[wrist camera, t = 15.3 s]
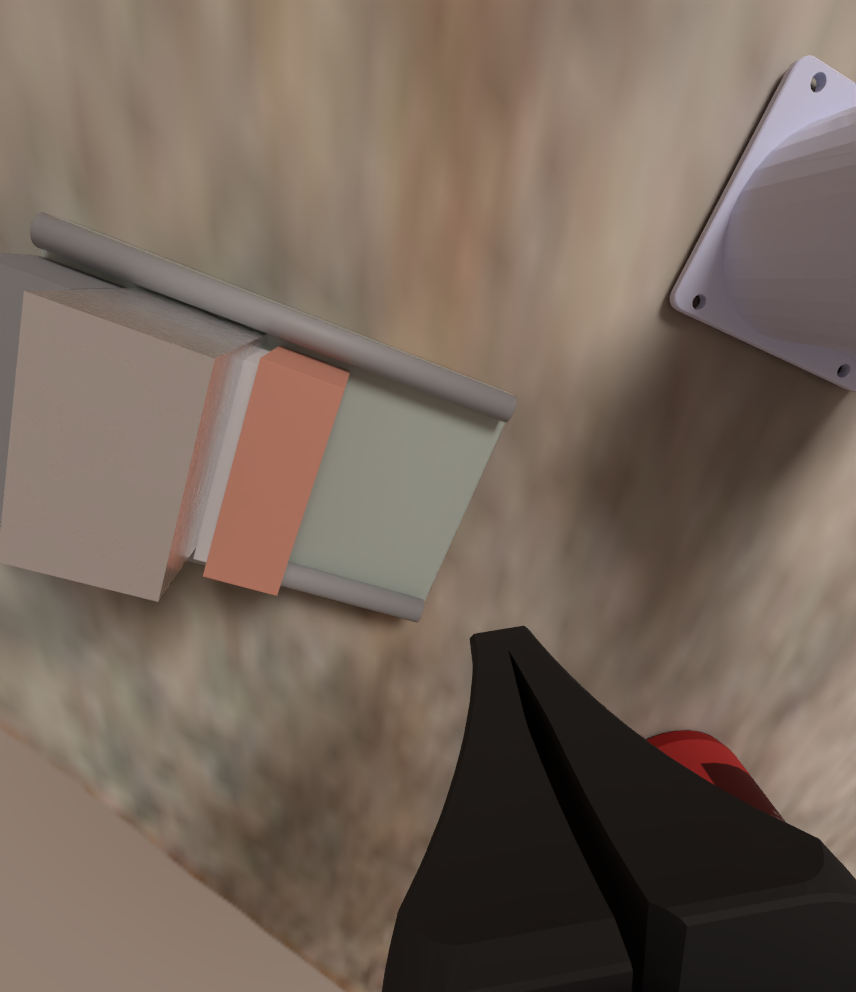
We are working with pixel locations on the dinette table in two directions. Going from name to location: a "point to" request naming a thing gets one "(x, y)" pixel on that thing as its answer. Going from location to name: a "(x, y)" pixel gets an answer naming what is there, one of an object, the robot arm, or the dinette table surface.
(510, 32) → the dinette table surface
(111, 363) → the aluminium block
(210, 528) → the block
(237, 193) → the dinette table surface
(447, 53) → the dinette table surface
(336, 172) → the dinette table surface
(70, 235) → the vise base
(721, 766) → the canned food
